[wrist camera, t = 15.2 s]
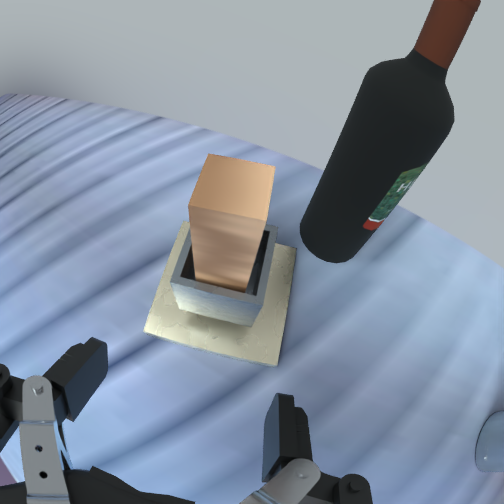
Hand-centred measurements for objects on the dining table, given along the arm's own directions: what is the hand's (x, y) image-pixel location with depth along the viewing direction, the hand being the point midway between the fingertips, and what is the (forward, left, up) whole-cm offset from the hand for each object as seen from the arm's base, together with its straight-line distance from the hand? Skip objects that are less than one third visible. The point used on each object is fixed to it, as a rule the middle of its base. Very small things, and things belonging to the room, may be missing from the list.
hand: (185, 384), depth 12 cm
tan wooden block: (0, -8, -8) cm, 11 cm away
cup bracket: (0, -9, -13) cm, 16 cm away
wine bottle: (-10, -20, -13) cm, 26 cm away
